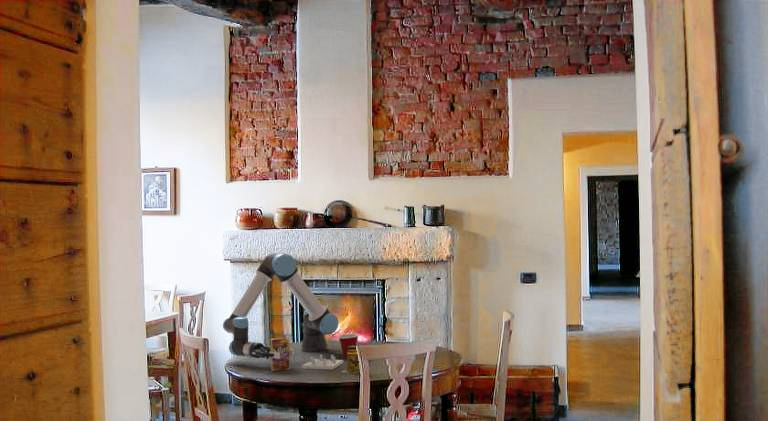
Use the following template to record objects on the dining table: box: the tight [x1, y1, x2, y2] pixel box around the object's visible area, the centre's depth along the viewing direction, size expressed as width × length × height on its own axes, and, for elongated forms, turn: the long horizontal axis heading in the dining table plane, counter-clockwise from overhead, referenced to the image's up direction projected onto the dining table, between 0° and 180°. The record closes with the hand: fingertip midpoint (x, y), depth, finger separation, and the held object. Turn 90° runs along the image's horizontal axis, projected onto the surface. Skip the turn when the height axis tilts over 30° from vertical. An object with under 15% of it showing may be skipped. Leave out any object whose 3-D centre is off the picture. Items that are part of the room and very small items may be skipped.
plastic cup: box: [337, 333, 359, 359], centre depth 342 cm, size 11×11×12 cm
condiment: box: [341, 345, 361, 374], centre depth 307 cm, size 7×8×12 cm
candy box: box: [270, 337, 290, 372], centre depth 314 cm, size 9×4×15 cm, turn 106°
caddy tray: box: [301, 353, 344, 370], centre depth 322 cm, size 16×16×4 cm
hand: (286, 354), depth 312 cm, fingers closed on candy box, 9 cm apart
